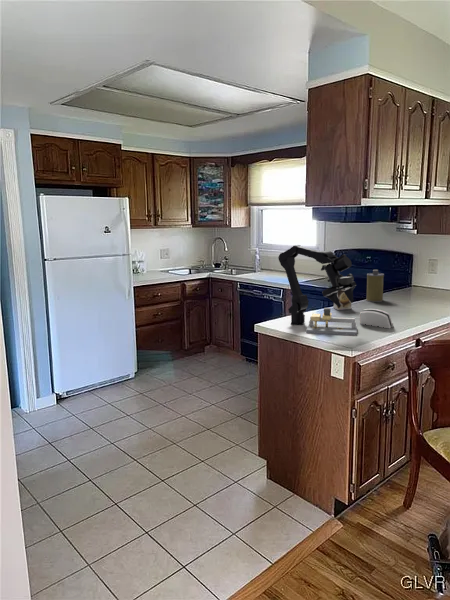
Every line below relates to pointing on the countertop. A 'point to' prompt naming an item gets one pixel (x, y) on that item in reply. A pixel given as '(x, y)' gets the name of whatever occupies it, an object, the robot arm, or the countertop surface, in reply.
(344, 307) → the coffee box
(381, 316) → the white curved block
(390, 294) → the countertop surface
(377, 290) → the canister
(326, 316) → the block
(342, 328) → the plate
